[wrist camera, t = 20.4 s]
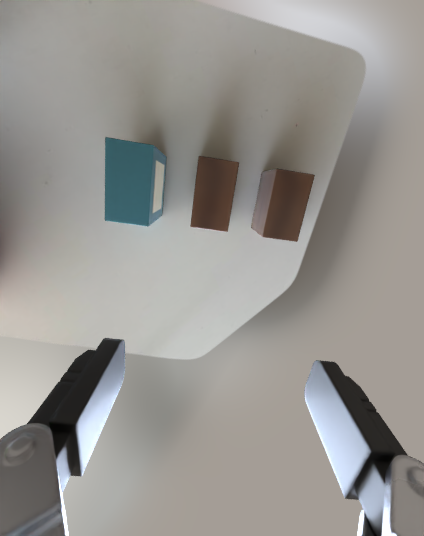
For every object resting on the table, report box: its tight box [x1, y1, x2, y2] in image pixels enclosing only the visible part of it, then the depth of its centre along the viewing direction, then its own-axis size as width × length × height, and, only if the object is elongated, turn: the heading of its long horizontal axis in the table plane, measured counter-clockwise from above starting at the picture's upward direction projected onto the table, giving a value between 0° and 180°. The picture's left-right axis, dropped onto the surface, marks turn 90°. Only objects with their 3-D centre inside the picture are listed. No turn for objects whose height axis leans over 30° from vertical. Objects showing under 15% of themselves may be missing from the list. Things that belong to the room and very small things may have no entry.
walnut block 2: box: [251, 169, 315, 242], centre depth 32 cm, size 5×8×7 cm, turn 172°
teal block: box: [105, 137, 167, 226], centre depth 29 cm, size 5×8×10 cm, turn 172°
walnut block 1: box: [191, 156, 239, 232], centre depth 32 cm, size 5×8×7 cm, turn 172°
